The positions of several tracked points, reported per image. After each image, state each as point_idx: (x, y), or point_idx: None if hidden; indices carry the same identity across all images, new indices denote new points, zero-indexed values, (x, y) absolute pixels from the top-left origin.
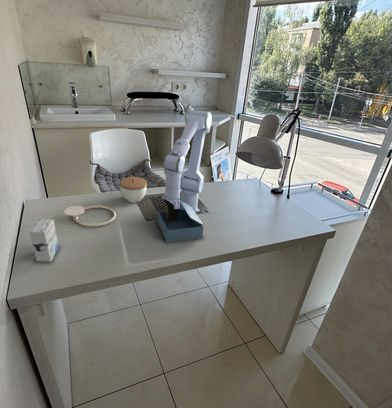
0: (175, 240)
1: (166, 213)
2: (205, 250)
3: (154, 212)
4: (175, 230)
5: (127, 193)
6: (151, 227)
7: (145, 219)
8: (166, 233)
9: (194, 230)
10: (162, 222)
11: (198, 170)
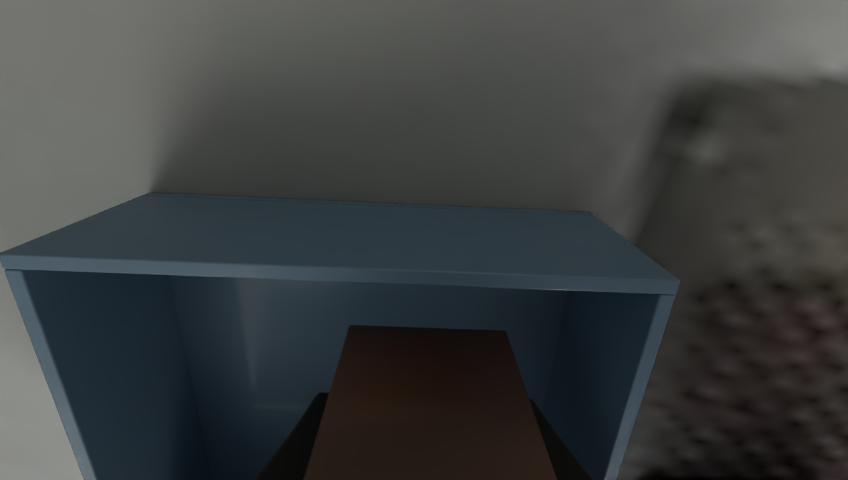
0: (161, 289)
1: (423, 407)
2: (32, 456)
3: (812, 233)
4: (48, 367)
5: None
6: (499, 108)
7: (715, 80)
8: (68, 232)
9: None
10: (314, 257)
11: None
